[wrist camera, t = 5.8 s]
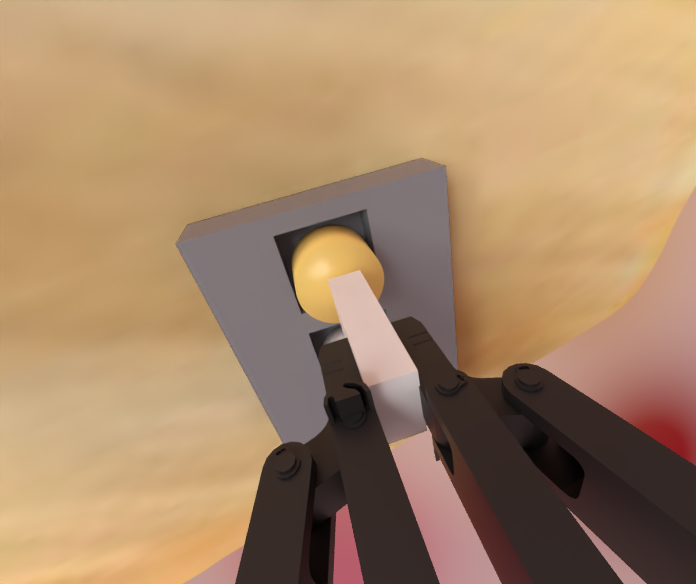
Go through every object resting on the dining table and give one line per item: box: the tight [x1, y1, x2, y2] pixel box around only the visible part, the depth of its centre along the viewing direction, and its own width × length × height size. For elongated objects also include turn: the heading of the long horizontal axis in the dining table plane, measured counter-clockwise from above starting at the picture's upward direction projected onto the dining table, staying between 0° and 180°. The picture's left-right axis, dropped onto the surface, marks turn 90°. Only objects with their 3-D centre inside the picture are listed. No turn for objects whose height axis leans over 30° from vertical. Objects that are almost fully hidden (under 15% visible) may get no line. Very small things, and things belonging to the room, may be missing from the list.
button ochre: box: [291, 224, 384, 323], centre depth 17 cm, size 4×4×3 cm
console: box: [176, 158, 458, 444], centre depth 23 cm, size 20×14×3 cm
